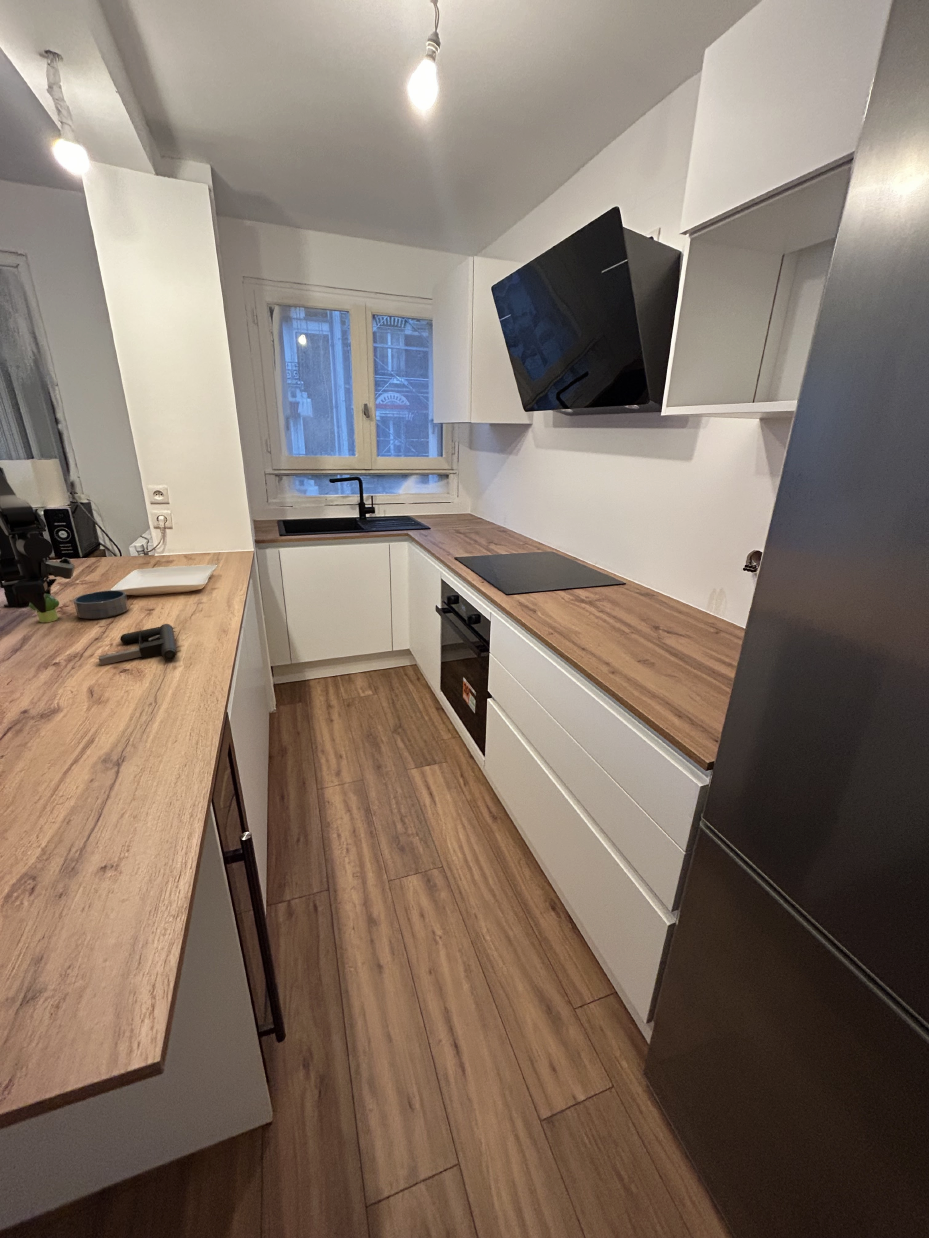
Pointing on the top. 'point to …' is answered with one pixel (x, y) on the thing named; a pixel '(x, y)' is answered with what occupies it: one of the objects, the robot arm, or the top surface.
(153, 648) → the door handle
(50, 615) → the broccoli
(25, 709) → the top surface
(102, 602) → the bowl
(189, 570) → the square plate
